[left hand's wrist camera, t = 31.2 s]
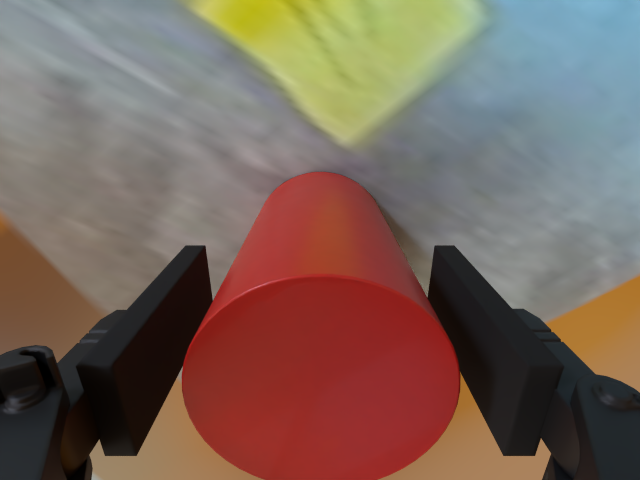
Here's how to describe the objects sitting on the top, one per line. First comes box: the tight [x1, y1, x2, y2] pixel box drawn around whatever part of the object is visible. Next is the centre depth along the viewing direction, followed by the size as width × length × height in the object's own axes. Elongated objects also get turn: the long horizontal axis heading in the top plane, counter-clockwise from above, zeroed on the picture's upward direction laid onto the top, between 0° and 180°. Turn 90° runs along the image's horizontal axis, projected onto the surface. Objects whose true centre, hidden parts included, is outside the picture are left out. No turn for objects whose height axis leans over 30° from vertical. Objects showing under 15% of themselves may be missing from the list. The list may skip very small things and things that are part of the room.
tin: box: [182, 172, 460, 480], centre depth 13 cm, size 7×7×11 cm
